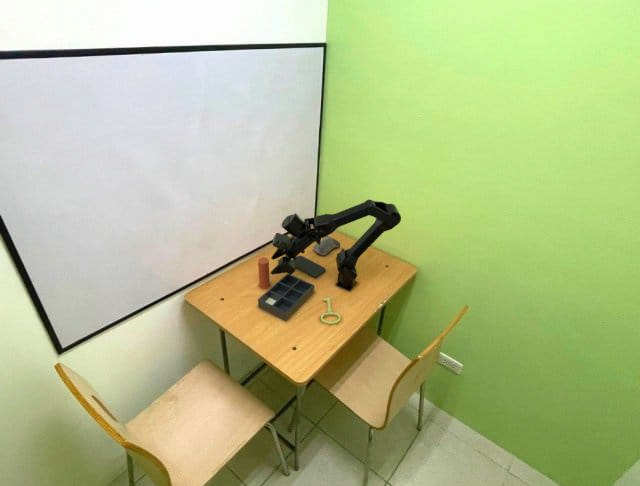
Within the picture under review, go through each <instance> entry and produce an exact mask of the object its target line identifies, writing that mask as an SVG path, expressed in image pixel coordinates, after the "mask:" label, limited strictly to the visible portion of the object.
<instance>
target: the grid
mask: <svg viewBox="0 0 640 486" xmlns="http://www.w3.org/2000/svg"><path fill="white" fill-rule="evenodd" d="M314 293H315V284H312V283H311V282H309V281H306V280H304V279H302V278H299V277H297V276H295V275H294V274H292V275H290V274H288V273H285V275H284V276H282V277H281V278H280V279H279V280H278V281H277V282H276V283H275V284H273V285H272V286H271V287H269V289H267V290H266V292H264V293H263V294H262V295H261V296H260V297H259V298H258V299H257V305H258V308H259V309H261V310H263V311H265V312H267V313H269V314H270V315H273V316H274V317H277V318H278V319H281V320H283V321H285V322H287V321H288V320H289V319H290V318H291V317H292V316H293V315H294V314H295V312H297V311H298V309H300V308H301V306H302V305H303V304H304V303H306V302H307V300H308V299H309V298H311V296H312V295H313V294H314Z"/></svg>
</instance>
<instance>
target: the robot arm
mask: <svg viewBox="0 0 640 486" xmlns="http://www.w3.org/2000/svg"><path fill="white" fill-rule="evenodd" d="M369 216H370V217H373V218H375V221H374V222H373V223H372V225H370V227H368V229H366V231H365V232H364V233H363V234H362V235H361V236H360V237H359V238H358V239H357V241H355V243H354V244H353V245H352V246H350V248H347V249H345V248H344V247H343V248H341V250H340V251H339V252H338V253H336V257H335V263H336V267H337V272H338V273H337V281H336V284H335V286H336V287H339V288H341V289H343V290H345V291H348V292H351V291H352V290H353V288H354V287H355V286H356V285H357V284H358V281H357V277H358V272H357V268H356V265H357V262H358V260H359V258H360V257H361V256H362V255H363V254H364V253H365V252H366V251H367V250H368V249H369V248H370V247H371V246H372V245H373V244H374V243H375V242H376V241H377V240H378V239H379V237H381V236H382V235H383V233H385V232H388V231H391V230H393V229H394V228H395V227H397V226H398V225H399V224H400V223H401V221H402V216H401V214H400V211H399V209H398V208H397V206H396V205H395V204H393V203H387V202H384V201H378V200H376V201H375V200H373V199H366V200H364V202H361V203H359V204H356V205H353V206H350V207H349V208H346V209H344V210H341V211H337V212H336V213H325V214H320V215H317V216H314V217H307V218H304V219H302V218H301V216H299V214H297V213H296V212H295V213H294V214H290V215H287V216H286V217H285V218H284V219H283V220H282V222H281V225H280V226H281V228H282V229H283V230H285V231H286V232H287V233H288V234H289V235H288V234H287V233H285V234H282V233H280V232H276V233H275V235H274V236H273V238H272V245H271V246H273V247H274V248H276V250H275V252H274V253H272V254H273V255H271V257H270V258H271V259H270V260H273V261H274V260H277V261H278V262H277V265H276V266H274V268H273V269H272V270H271V271H270V274H271V275H272V276H273V275H280V274H287V273H288V274H290V275H294V274H295V273H296V267H295V263H294V262H293V261H292V260H293V259H294V260H296V259H297V257H298V256H300V254H302V255H304V254H305V253H306V249H308V248H309V247H310V246H311V245H313V244H314V243H315V244H317V243H318V244H319V245H320V244H321V243H320V241H321V240H322V239H323V237H326V236H329V235H331V234H333V233H334V232H335V231H336V230H337V229H339V228H340V227H342V226H345V225H349V224H350V223H354V222H356V221H358V220H361V219H364V218H366V217H369ZM290 235H291V236H290ZM279 258H280V259H279Z"/></svg>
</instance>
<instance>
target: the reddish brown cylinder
mask: <svg viewBox="0 0 640 486" xmlns="http://www.w3.org/2000/svg"><path fill="white" fill-rule="evenodd" d="M257 265H258V267H257V268H258V279H259V280H258V281H259V288H261V289H262V290H265V289H267V290H268V288H269V289H270V288H271V287H270V286H271V281H270V280H271V279H270V260H269V258H267V257H260V258H258V259H257Z"/></svg>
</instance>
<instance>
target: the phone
mask: <svg viewBox="0 0 640 486" xmlns="http://www.w3.org/2000/svg"><path fill="white" fill-rule="evenodd" d="M291 261H293V262H294V263H295V269H297V270H300V271H301V272H303V273H305V274H307V275H309V276H310V277H312V278H315V279H316V278H319V276H321V275H322V274H324V273H325V272H326V268H325V267H323V266H321V265H320V264H318V263H316V262H314V261H312V260H310V259H308V258H307V257H304V256H303V255H297V259H296V260H294V259H293V258H292V259H291Z"/></svg>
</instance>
